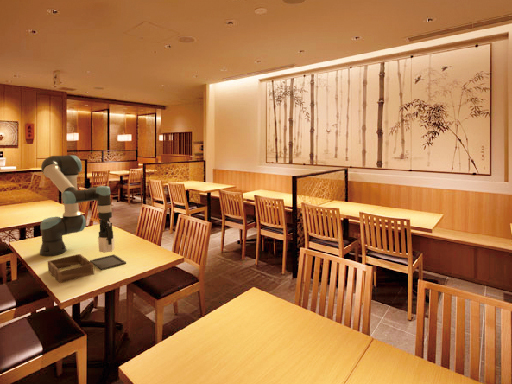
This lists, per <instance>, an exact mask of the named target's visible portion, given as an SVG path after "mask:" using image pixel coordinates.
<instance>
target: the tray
mask: <svg viewBox="0 0 512 384" xmlns="http://www.w3.org/2000/svg"><path fill="white" fill-rule="evenodd" d="M89 261H90V262H91V263H93V266H95V267H96V268H97V269H99V270H100V271H105V270H109V269H111V268H115V267H116V268H117V267H119V266H123V265H126V264H127V261H125V260H124V259H122V258H120V257H119V256H118V255H116V254H111V255H107V256H102V257H98V258H94V259H89Z"/></svg>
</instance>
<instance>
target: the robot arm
mask: <svg viewBox="0 0 512 384" xmlns="http://www.w3.org/2000/svg"><path fill="white" fill-rule="evenodd" d="M40 168H41V169H40V170H41V173H42V174H43V175H44V177H46V178H49V180H50V181H51V182H52V183H53V185H54V186H55V187H56V188H57V189H58V190H59V191H60V192H61V200H62V202H63V205H64V213H63V214H62V217H60V216H51V217H47V218H45V219H43V220H41V221H40V232H41V234H40V235H41V245H40V249H39V254H40V256H43V257H52V256H58V255H60V254H64V253H66V252H67V246H66V244H65V242H64V241H63V236H66V235H70V234H76V233H80V232H83V231H84V230H85V228H86V225H87V223H86V222H87V220H86V217H85V215H83V214H82V212H81V211H80V206H79V203H84V202H85V203H87V202H93V201H94V202H95V201H96V203H97V204H96V205H97V207H96V209H97V212H98V213H97V217H98V221H99V232H100V231H106V235H107V239H106V240H107V250H111V249H112V239H113V235H114V231H113V223H112V222H111V221H110V219H111V218H112V217H113V215H112V213H113V212H112V197H111V196H112V195H111V188H110V186H107V185H100V186H97V187H89V188H86V189H85V188H84V189H78V181H77V179H78V176H79V175H80V173H81V172H82V169H83V165H82V161H81V159H80V158H79V156H76V155H74V154H73V155H69V154H68V155H51V156H48V157H46V158H45V159H44V160H43V161H42V162H41V165H40ZM112 231H113V232H112Z"/></svg>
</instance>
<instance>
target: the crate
mask: <svg viewBox="0 0 512 384" xmlns="http://www.w3.org/2000/svg"><path fill="white" fill-rule="evenodd" d="M78 265H80V266H78ZM73 266H75V267H73ZM76 266H77V267H76ZM68 267H69V269H65V268H68ZM71 267H72V268H71ZM60 269H65V270H60ZM47 270H48V272H49V273H50V274H51V276H52V277H53V278H54V279H55V280H56V281H57V282H58V284H61V283H65V282H68V281H72V280H77V279H80V278H84V277H88V276H90V275H94V274H95V269H94V265H93V263H91V262H90V259H87V258H86V257H85V256H83V254H80V253H79V254H74V255H68V256H64V257H58V258H56V259H50V260H47Z"/></svg>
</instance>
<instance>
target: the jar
mask: <svg viewBox="0 0 512 384" xmlns="http://www.w3.org/2000/svg"><path fill="white" fill-rule="evenodd" d="M112 232H113V233H114V231H113V230H112ZM106 239H107V235H106V231H100V230H99V232H98V237H97V242H98V252H99V253H104V254H105V253H111V252H113V251H115V248H116V247H115V235H114V234H113V239H112V249H111V250H107V240H106Z"/></svg>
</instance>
